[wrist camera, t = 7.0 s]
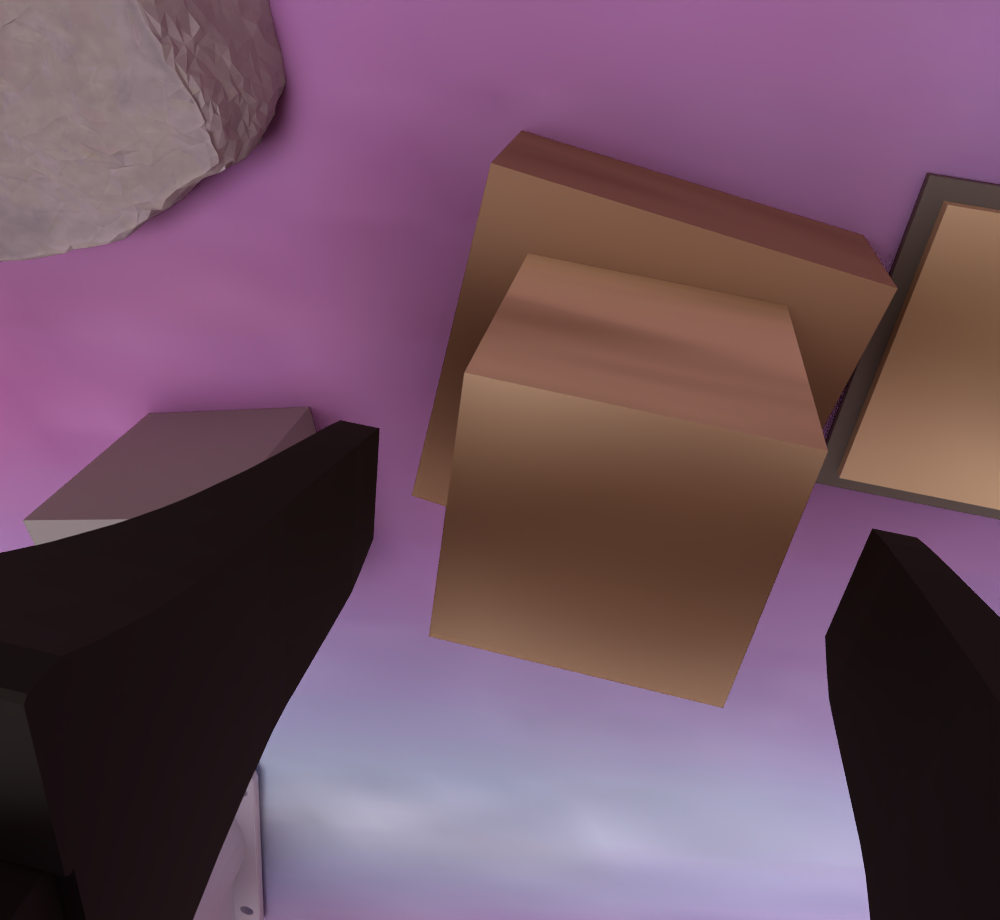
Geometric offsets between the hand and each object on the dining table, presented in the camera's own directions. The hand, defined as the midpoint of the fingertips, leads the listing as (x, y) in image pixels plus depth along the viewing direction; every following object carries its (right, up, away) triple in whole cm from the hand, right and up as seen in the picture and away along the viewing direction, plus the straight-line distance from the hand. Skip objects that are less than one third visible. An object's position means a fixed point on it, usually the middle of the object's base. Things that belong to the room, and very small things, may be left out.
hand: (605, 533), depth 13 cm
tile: (+9, +3, +5) cm, 11 cm away
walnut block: (+1, +4, +6) cm, 8 cm away
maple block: (+1, +2, +3) cm, 4 cm away
